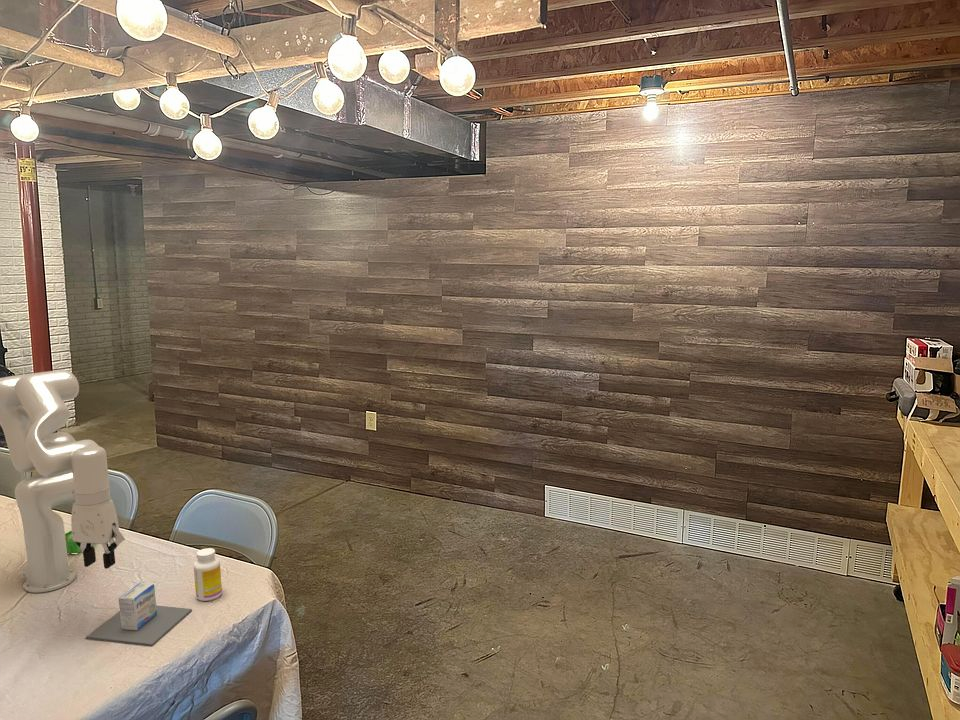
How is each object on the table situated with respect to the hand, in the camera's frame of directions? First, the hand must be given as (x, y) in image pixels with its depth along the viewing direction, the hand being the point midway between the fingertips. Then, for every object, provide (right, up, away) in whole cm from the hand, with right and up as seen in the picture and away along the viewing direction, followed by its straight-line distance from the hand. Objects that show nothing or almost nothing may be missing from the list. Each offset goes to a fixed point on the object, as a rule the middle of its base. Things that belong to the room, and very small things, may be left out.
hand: (100, 564), depth 168 cm
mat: (+10, -15, +1) cm, 18 cm away
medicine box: (+10, -15, +1) cm, 18 cm away
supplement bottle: (+22, -13, +15) cm, 29 cm away
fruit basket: (-31, -9, +44) cm, 55 cm away
